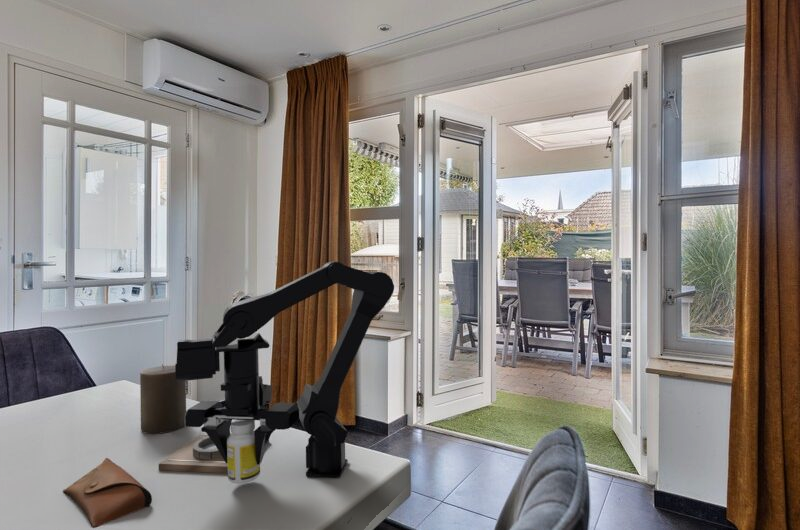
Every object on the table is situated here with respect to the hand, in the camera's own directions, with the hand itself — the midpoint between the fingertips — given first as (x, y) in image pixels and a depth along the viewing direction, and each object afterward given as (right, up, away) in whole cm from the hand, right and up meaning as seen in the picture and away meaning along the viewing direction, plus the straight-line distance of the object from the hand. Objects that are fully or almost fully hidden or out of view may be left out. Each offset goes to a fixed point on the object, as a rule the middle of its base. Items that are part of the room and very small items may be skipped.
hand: (243, 462), depth 80 cm
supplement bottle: (0, -3, 0) cm, 3 cm away
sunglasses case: (-22, -5, -3) cm, 23 cm away
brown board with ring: (-10, -4, +12) cm, 16 cm away
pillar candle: (-29, -4, +29) cm, 41 cm away
